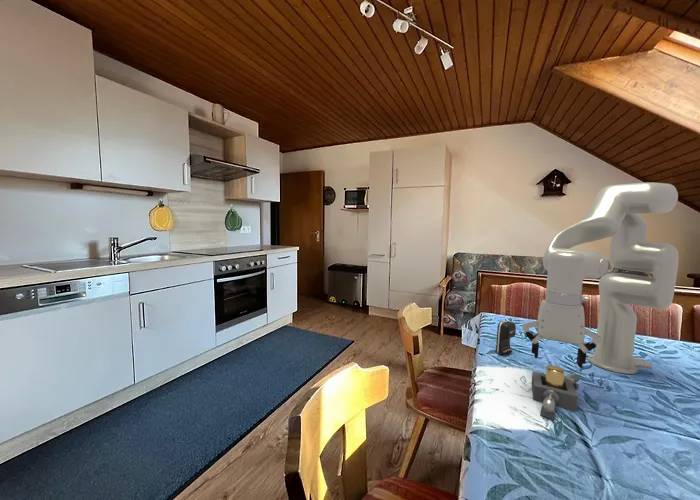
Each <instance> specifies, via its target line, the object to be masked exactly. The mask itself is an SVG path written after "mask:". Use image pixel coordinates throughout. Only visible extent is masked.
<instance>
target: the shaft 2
mask: <svg viewBox="0 0 700 500" xmlns="http://www.w3.org/2000/svg"><path fill="white" fill-rule="evenodd" d="M579 377H580V376H578V375H577V374H576V373H574V372H573V373H569V374H566V375H564V379H565V380H572V382H573V385H574V387H575V390H579V386H580V384H579V383H578V382H579V381H580V378H579Z"/></svg>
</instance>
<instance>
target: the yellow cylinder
mask: <svg viewBox="0 0 700 500" xmlns="http://www.w3.org/2000/svg"><path fill="white" fill-rule="evenodd" d="M545 370H546V371H545V374H546V378H545V385H546V386H550V387H554V388H558V389H562V390H563V383H564V377H565V369H564V368H562V367H560V366H557V365H551V364H550V365H549V364H548V365H546V369H545Z"/></svg>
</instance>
